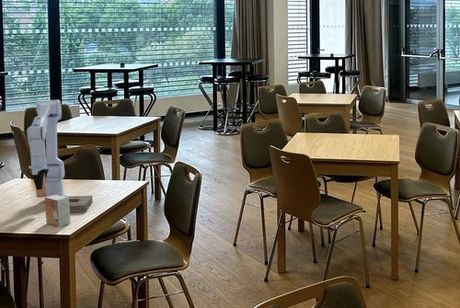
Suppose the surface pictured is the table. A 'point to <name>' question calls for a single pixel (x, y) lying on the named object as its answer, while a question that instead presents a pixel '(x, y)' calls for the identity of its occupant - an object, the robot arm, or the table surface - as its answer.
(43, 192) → the peg
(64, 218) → the small box
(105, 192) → the table surface
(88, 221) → the table surface
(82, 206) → the socket block
